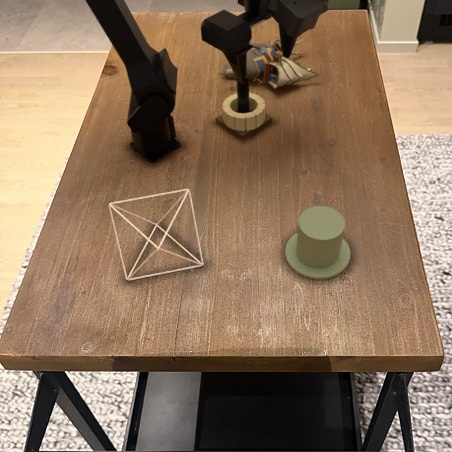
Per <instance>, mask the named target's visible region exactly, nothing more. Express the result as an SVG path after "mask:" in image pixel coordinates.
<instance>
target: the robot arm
mask: <svg viewBox="0 0 452 452" xmlns="http://www.w3.org/2000/svg"><path fill="white" fill-rule="evenodd" d="M84 1H85V3H86V4H87V6H88V8H89V9H90V11H91V12H92V14H93V16H94V18H95V19H96V20H97V22H98V24H99V26H100V27H101V29H102V31H103V32H104V34H105V35H106V37H107V39H108V41H109V42H110V44H111V46H112V47H113V48H114V50H115V52H116V53H117V55H118V57H119V58H120V60H121V62H122V64H123V65H124V67H125V70H126V74H127V78H128V82H129V86H130V90H131V91H130V96H129V97H130V98H129V104H128V111H127V116H126V117H127V118H126V119H127V120H126V125H127V126H128V128H129V129H130V134H131V137H132V141H130V143H129V147H130V148H131V149H132V150H133V151H135V152H136V153H137V154H138V155H139V156H141V157H142V158H143V159H145V160H146V161H147V162H148V163H150V164H154V163H156V162H157V161H159V160H161V159H162V158H164V157H166V156H167V155H169V154H171V153H173V152H174V151H176V150H177V149H179V148H181V147H182V144H181V142H180V141H179V140H178V139H176V138H177V131H176V125H175V118H174V116H173V115H172V113H173V112H174V110H175V107H176V100H177V99H176V98H177V89H178V87H177V85H178V73H179V72H178V70H179V69H178V67H177V66H176V65H175V64H174V63H173V62H172V60H171V57H170V55H169V51H168V50H167V48H166V47H165V48H162V49H161V50H159V51H157V50H156V49H155V48H154V47H152V46H151V45H150V44H149V42H148V41H147V39H146V37H145V35H144V33H143V32H142V30H141V28H140V26H139V25H138V22H137V21H136V19H135V17H134V15H133V14H132V12H131V10H130V8H129V6H128V5H127V2H126V0H84ZM329 1H330V0H237V4H238V5H240V6H241V7H244V12H241V13H240V14H238V15H236V14H235V13H232V12H230V11H228V10H227V9H222V10H220V11H218V12H216V13H213V14H211V15H210V16H208V17H206V18H204V19H203V20H202V21H201V23H200V35H201V37H200V38H201V41H202V42H204V43H206V44H208V45H209V46H211V47H212V48H215V49H217V50H218V51H220V52H222V54H223V55H224V57H225V59H226V60H227V62H228V64H229V66H230V68H231V69H232V70H233V72H234V73H235V75H236V77H235V78H236V80H237V79H238V81H239V82H240V83H242V84H244V83H246V74H247V52H248V51H249V50H250V49H252V47H253V46H252V45H251V44H249V43H250V42H252V41H251V40H252V39H253V31H252V29H253V28H254V27H256V26H259V25H261V24H262V23H264V22H266V21H268V20H269V19H271V18H273V20H274V21H275V22H276V23H277V24H278V31H279V32H278V33H279V40H280V42H281V48H282V53H283V56H284V57H285V58H291V56H292V55H291V53H292V52H293V50H294V47H295V46H294V45H295V43H296V42H297V39H298V38H299V37H300V36H302V35H303V34H304V33H306V32H309V30H314V28H316V25H317V23H318V20H319V18H320V16H321V15H323V14H325V13H327V12H328V11H329V4H328V3H329Z"/></svg>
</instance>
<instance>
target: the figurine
mask: <svg viewBox="0 0 452 452" xmlns="http://www.w3.org/2000/svg"><path fill="white" fill-rule="evenodd" d="M305 39H306V38H305V37H302V38H301V40H298V41H296V43H295V45H294V47H295V46H298V47H297V48H298V51H295V52H294V51H292V53H291V55H290V56H298V55H302V54H303V53H304V51H301V50H300V45H301V43H302V42H303V41H304V40H305ZM249 44H251V45H252V46H253V47H252V48H253V49H252V48H251V49H250V50H249V51H248V52H247V74H248V75H249V80H252V82H256V81H258V83H257V85H260V84H263V83H267V84H269V85H270V87H272V88H273V89H274V90H278V89H279V88H283V87H288V86H291V85H293V84H296V83H299V82H303V81H306V80H310V79H313V78H316V77H319V76H321V75H322V73H318V71H317V72H315V71H313V70H312V69H313V68H306V67H304V66H303V65H301V64H300V62H297V61H296V60H295V59H292V58H291V57H289V58H285V57H284V56H283V53H282V48H281V42H280V38H279V39H276V40H275V41H273V44H271V43H269V44H268V43H265V42H252V41H250V43H249ZM217 75H220V76H221V75H223V76H226V77H227V78H231V77H233V78H237V77H236V75H235V73H234V72H233V70H232V68H231V67H230V68H228V64H227V62H225V63H224V65H223V68H222V72H218V74H217Z"/></svg>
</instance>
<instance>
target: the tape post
mask: <svg viewBox="0 0 452 452" xmlns="http://www.w3.org/2000/svg"><path fill="white" fill-rule="evenodd" d="M249 93H250V79H249V75H248V74H246V83H244V84H242V83H240V82H239V81H238V79H237V78H236V94H237V102H238V111H236V112H237V113H244V114H245V113H249V112H252V111H251V110H249ZM215 123H216V124H217V125H219V126H220V127H221V128H223V129H225V130H226V131H228V132H229V133H231V134H232V135H234V136H236V137H237V138H238V139H240V140H241V141H245V140H246V139H248V138H250V137H251V136H253V135H255V134H256V133H257V132H259V131H261V130H263V129H264V128H265V127H267V126H269V125H270V124H272V123H273V117H272V116H271V115H269V114H268V113H266V112H265V120H264V122H263V124H262V125H260V126H259V127H258V128H256V129H253V130H249V131H246V129H245V131H238V130H235V129H234V130H233V129H231V128H229V127H228V126H227V125H226V124H225V123H224V121H223V113H222V114H220V115H218V116H217V117H215Z"/></svg>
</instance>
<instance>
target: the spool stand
mask: <svg viewBox="0 0 452 452" xmlns="http://www.w3.org/2000/svg"><path fill="white" fill-rule="evenodd" d="M345 228H346V221H345V217H344V216H343V215H342V213H341V212H340V211H338V210H336V209H335V208H332V207H330V206H325V205H316V206H311V207H309V208H306V209H305V210H304V211H303V212H302V213H301V214H300V216H299V218H298V225H297V232H295V233H294V234H293V235H292V236H291V237H290V238H289V239H288V241H287V242H286V245H285V251H284V255H285V261H286V263H287V265H288V266H289V267H290V268H291V270H293V272H295V273H297V275H300V276H302V277H304V278H307V279H309V280H317V281H318V280H319V281H321V280H329V279H332V278H335V277H337V276H338V275H340V274H342V273H343V272H344V271H345V270H346V269H347V267H348V265H349V263H350V259H351V248H350V246H349V244H348V242H347V241H346V239H345V238H344V234H345Z"/></svg>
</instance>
